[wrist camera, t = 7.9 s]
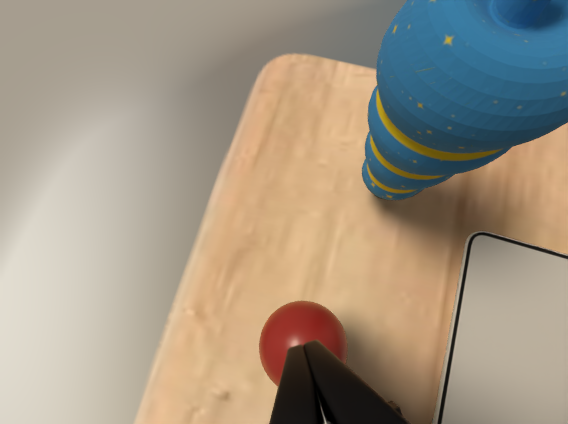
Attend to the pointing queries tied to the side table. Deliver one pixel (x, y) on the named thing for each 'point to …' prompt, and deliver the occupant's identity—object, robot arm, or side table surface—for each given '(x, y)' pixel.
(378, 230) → the side table surface
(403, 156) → the ornament
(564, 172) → the side table surface
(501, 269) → the smartphone
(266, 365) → the switch lever
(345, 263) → the side table surface
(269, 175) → the side table surface
